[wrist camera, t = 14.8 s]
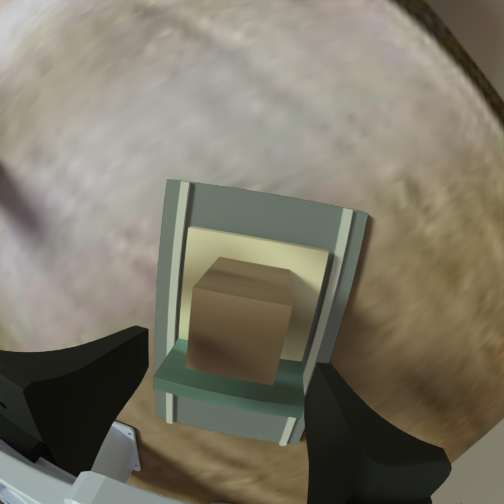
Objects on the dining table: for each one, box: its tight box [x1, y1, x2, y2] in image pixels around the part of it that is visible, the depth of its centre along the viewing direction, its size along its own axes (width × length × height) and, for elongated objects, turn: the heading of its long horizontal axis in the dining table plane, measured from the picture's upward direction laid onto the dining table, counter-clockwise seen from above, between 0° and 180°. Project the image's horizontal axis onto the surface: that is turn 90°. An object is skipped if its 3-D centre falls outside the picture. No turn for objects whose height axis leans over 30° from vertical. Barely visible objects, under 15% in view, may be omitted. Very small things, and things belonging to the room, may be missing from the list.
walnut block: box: [186, 257, 293, 385], centre depth 16 cm, size 4×4×6 cm
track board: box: [155, 179, 368, 446], centre depth 22 cm, size 22×14×1 cm, turn 171°
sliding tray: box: [153, 226, 329, 418], centre depth 18 cm, size 9×9×6 cm
